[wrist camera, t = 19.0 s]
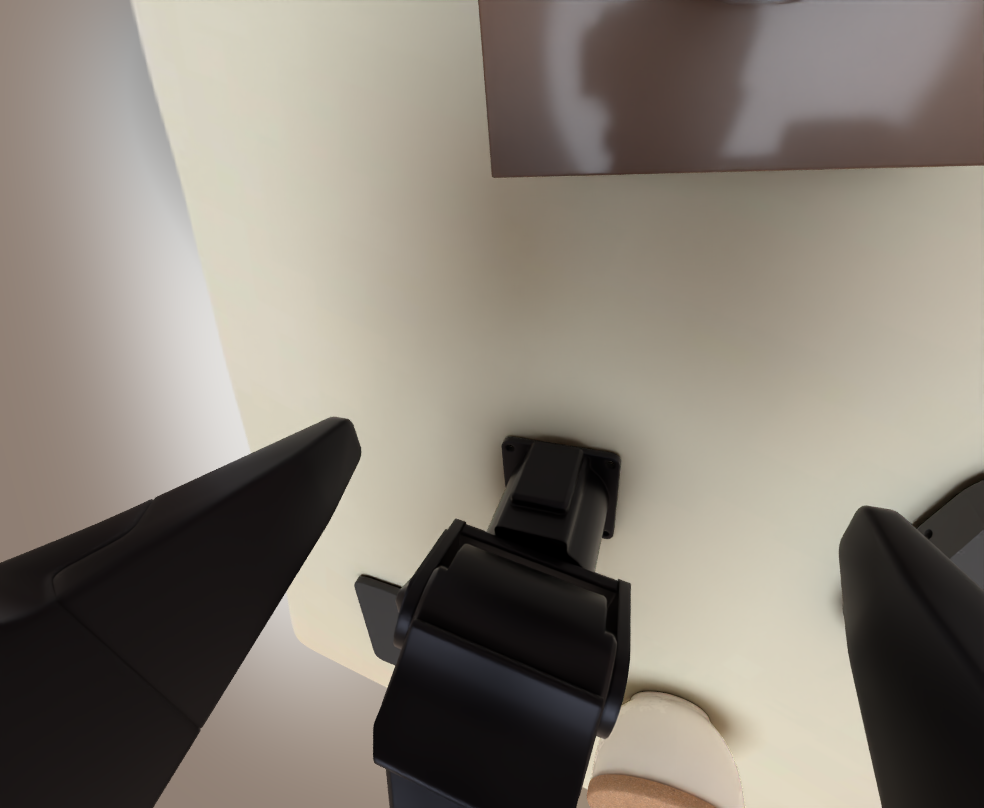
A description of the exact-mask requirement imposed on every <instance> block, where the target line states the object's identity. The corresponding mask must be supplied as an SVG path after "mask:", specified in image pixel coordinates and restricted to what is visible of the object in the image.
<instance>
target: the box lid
mask: <svg viewBox="0 0 984 808" xmlns="http://www.w3.org/2000/svg"><path fill="white" fill-rule="evenodd" d="M478 3H479V16H480V29H481V42H482V55H483V67H484V80H485V93H486V106H487V119H488V132H489V144H490V157H491V170H492V177H494V178H508V177H547V176H587V175H626V174H666V173H706V172H745V171H785V170H825V169H864V168H904V167H944V166H983V165H984V0H785V1H780V2H775V3H770V4H752V5H741V6H735V5H734V4H733V5H728V4H725V3H723V2H719V1H715V0H478Z"/></svg>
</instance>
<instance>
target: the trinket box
mask: <svg viewBox="0 0 984 808" xmlns="http://www.w3.org/2000/svg"><path fill="white" fill-rule="evenodd" d="M587 800H588V803H589V805H590V807H591V808H745V800H744V794H743V789H742V783H741V779H740V775H739V771H738V768H737V765H736V763H735V760H734V758H733V755H732V753H731V751H730V749H729V747H728V746H727V744H726V742H725V740H724V739H723V738H722V736H721V735H720V733H719V732H718V731H717V730H716V728H715V727H714V726H713V725H712V724H711V723H710V719H709V717H708V716H707V714H706V713H705V712H704V711H703V710H702V709H700V708H699V707H698V706H696V705H695V704H693V703H691V702H689V701H687V700H685V699H682V698H680V697H677V696H674V695H670V694H666V693H661V692H650V691H649V692H640V693H637V694H635V695H633V697H632V698H631V701H629V702H627V703H626V704H624V705H622V706H621V709H620V712H619V715H618V718H617V721H616V724H615V726H614V728H613V730H612V732H611V734H610V735H609V737H608V738H606V739H603V738H601V737H600V740H599V743H598V747H597V751H596V754H595V759H594V764H593V770H592V777H591V780H590V783H589V786H588V793H587Z"/></svg>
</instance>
